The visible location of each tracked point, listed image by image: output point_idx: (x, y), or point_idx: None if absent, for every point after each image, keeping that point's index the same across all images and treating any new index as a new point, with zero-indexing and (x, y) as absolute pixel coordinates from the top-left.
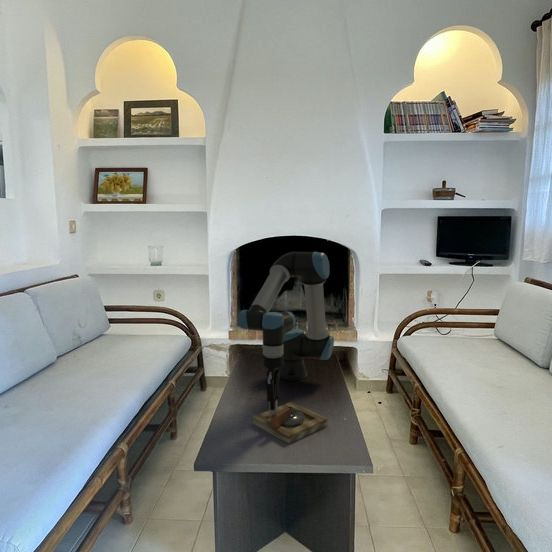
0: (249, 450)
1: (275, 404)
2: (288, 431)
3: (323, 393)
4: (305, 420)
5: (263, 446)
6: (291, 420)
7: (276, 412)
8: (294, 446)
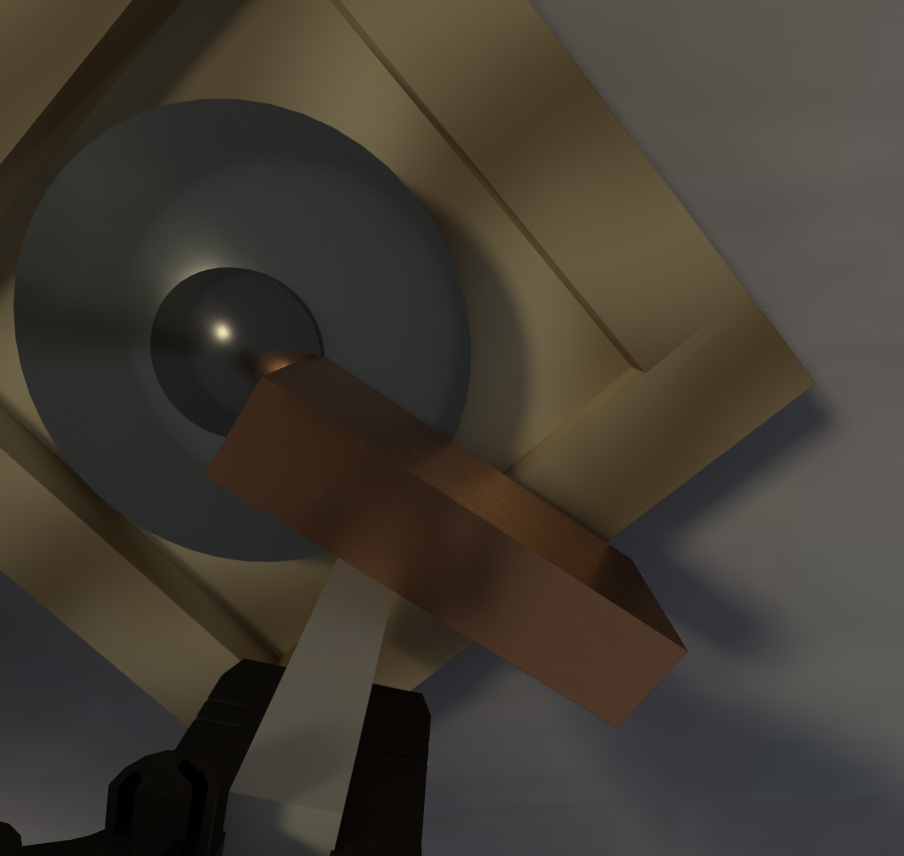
0: (813, 728)
1: (356, 750)
2: (681, 381)
3: None
4: None
5: (758, 615)
6: (401, 333)
7: (378, 612)
8: (805, 298)
